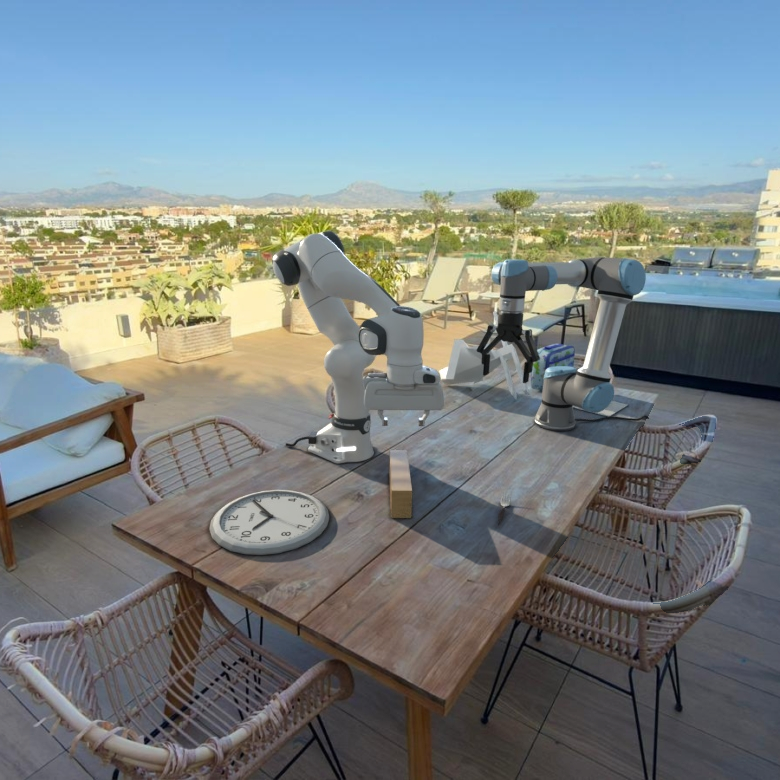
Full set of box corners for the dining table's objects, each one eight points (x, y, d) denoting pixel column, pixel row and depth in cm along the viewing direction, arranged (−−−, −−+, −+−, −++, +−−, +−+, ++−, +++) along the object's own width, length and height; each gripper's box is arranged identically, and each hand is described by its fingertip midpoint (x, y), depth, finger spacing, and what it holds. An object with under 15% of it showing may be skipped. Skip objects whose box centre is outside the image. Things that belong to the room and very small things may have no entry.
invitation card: (608, 416, 214) (573, 407, 224) (608, 416, 214) (573, 408, 224) (628, 404, 229) (594, 396, 238) (628, 405, 229) (594, 397, 238)
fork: (492, 526, 134) (493, 519, 133) (502, 497, 148) (502, 491, 148) (503, 528, 133) (503, 521, 132) (511, 499, 147) (512, 492, 147)
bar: (389, 473, 162) (389, 449, 159) (406, 473, 162) (407, 450, 159) (391, 518, 137) (391, 490, 135) (411, 518, 137) (412, 490, 135)
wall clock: (327, 546, 121) (194, 551, 119) (327, 552, 122) (195, 557, 119) (330, 485, 150) (223, 488, 147) (330, 490, 150) (224, 493, 148)
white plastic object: (461, 429, 252) (437, 405, 227) (444, 352, 274) (420, 323, 250) (535, 404, 240) (518, 377, 215) (510, 326, 262) (492, 293, 237)
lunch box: (547, 395, 239) (552, 351, 233) (526, 390, 247) (530, 347, 240) (574, 384, 257) (579, 343, 251) (554, 380, 264) (558, 339, 258)
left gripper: (362, 376, 126) (362, 429, 130) (446, 377, 127) (443, 430, 131) (362, 369, 132) (362, 420, 136) (443, 370, 133) (440, 421, 137)
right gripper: (468, 308, 164) (464, 373, 170) (546, 317, 150) (538, 388, 156) (480, 306, 170) (475, 369, 176) (555, 314, 155) (547, 382, 162)
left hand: (403, 425), depth 134 cm, fingers open, 8 cm apart
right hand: (505, 378), depth 166 cm, fingers open, 13 cm apart
